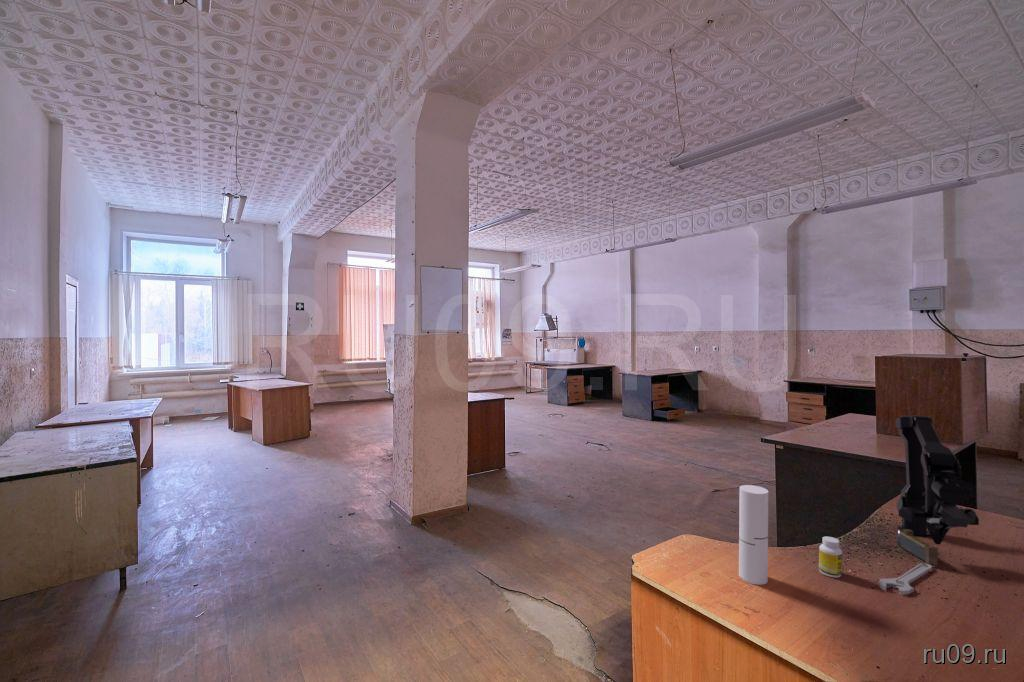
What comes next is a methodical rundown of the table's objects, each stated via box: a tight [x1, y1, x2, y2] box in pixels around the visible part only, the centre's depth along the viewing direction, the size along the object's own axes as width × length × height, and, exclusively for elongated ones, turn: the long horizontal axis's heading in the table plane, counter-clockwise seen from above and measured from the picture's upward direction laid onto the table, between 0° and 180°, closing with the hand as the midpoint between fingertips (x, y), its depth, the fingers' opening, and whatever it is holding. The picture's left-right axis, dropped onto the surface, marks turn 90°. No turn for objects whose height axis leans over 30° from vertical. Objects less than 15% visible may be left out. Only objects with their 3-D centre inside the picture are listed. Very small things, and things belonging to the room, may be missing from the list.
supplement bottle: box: [818, 536, 843, 579], centre depth 131 cm, size 5×5×10 cm
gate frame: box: [903, 529, 939, 567], centre depth 141 cm, size 14×3×6 cm, turn 166°
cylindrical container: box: [738, 484, 769, 586], centre depth 128 cm, size 7×7×25 cm
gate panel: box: [896, 528, 931, 562], centre depth 142 cm, size 11×2×5 cm, turn 176°
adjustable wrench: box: [878, 562, 933, 595], centre depth 127 cm, size 25×6×2 cm, turn 116°
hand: (937, 543), depth 139 cm, fingers closed
